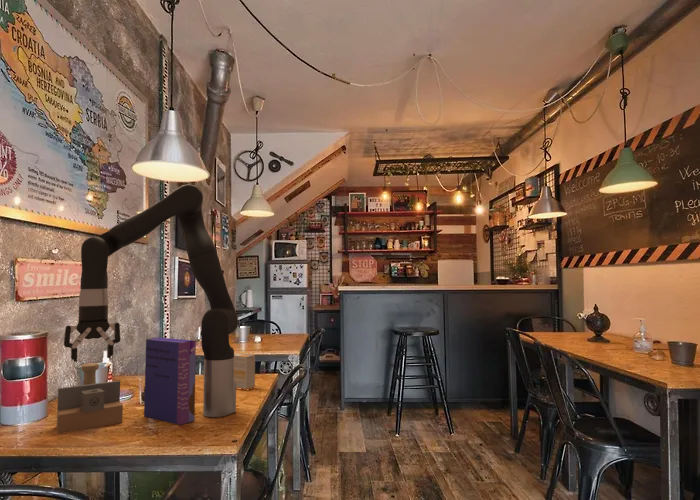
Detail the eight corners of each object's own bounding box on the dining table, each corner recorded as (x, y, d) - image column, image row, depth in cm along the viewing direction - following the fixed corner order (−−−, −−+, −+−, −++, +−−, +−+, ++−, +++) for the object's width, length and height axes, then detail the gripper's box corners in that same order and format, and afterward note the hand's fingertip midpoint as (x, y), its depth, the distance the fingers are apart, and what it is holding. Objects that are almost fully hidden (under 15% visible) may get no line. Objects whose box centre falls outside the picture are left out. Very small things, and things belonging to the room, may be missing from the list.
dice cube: (103, 408, 125) (104, 391, 126) (84, 412, 122) (84, 394, 122) (99, 405, 129) (100, 388, 129) (80, 408, 125) (80, 391, 126)
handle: (78, 415, 136) (80, 366, 137) (81, 410, 142) (82, 363, 143) (96, 413, 138) (97, 365, 139) (98, 408, 144) (99, 362, 145)
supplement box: (255, 388, 169) (255, 354, 170) (246, 391, 164) (246, 356, 165) (240, 385, 173) (240, 352, 174) (231, 388, 169) (231, 354, 170)
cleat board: (118, 416, 134) (119, 380, 135) (122, 422, 128) (123, 384, 129) (56, 427, 125) (58, 388, 126) (57, 433, 119) (59, 393, 120)
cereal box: (194, 421, 129) (195, 340, 131) (181, 425, 125) (182, 342, 127) (157, 412, 138) (159, 336, 140) (144, 416, 134) (146, 338, 136)
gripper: (118, 303, 136) (117, 355, 134) (64, 305, 127) (62, 360, 126) (122, 303, 130) (121, 358, 128) (66, 305, 121) (64, 364, 120)
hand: (92, 359), depth 127 cm, fingers open, 8 cm apart
